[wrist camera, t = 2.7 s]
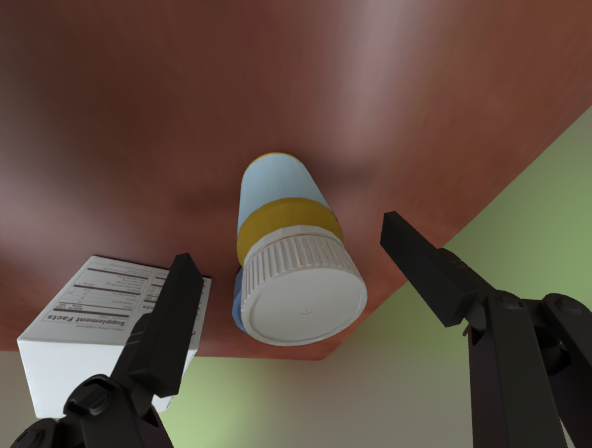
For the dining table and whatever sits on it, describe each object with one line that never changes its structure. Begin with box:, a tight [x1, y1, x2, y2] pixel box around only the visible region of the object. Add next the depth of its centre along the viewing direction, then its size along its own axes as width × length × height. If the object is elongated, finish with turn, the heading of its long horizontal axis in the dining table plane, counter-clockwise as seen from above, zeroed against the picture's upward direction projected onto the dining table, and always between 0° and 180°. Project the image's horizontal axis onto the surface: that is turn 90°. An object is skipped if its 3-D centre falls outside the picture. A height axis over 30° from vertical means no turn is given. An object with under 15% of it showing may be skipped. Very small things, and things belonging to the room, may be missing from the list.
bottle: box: [237, 153, 367, 346], centre depth 16 cm, size 7×7×15 cm
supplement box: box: [17, 256, 212, 418], centre depth 25 cm, size 17×13×9 cm
